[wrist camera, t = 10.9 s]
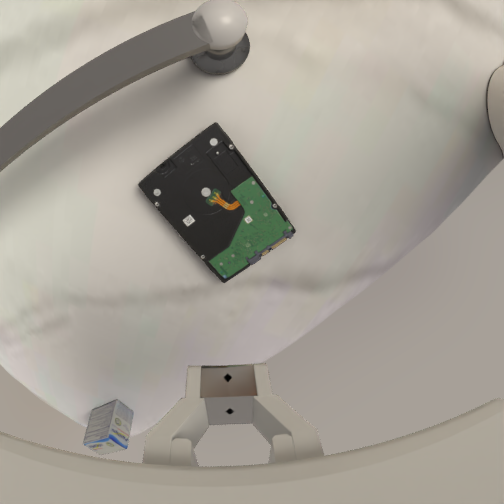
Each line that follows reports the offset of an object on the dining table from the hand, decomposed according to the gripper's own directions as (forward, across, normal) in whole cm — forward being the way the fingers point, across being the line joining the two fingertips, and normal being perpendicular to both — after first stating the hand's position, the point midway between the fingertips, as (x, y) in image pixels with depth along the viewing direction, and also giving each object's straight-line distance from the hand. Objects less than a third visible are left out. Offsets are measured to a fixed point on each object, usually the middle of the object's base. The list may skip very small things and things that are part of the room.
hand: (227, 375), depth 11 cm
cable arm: (+17, +13, -12) cm, 24 cm away
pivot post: (+24, 0, -16) cm, 29 cm away
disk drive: (+25, 0, 0) cm, 25 cm away
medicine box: (+24, +22, +38) cm, 50 cm away
